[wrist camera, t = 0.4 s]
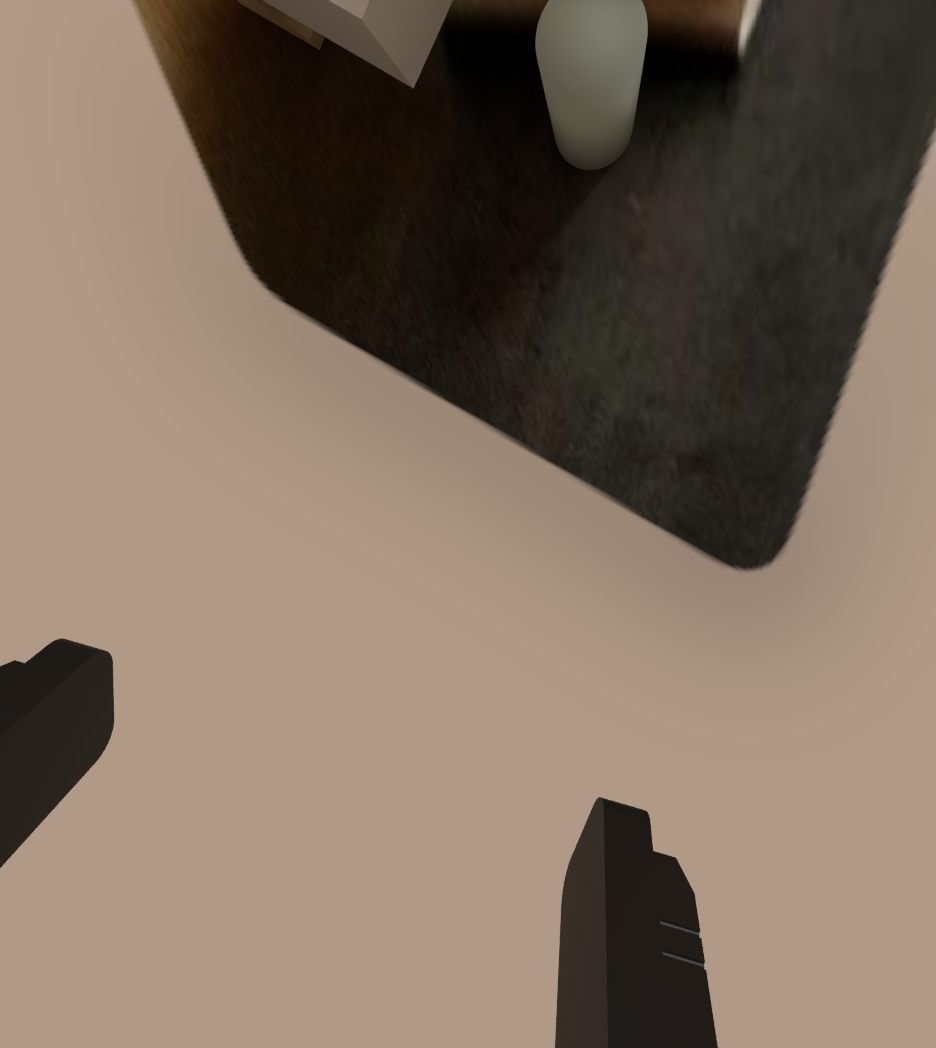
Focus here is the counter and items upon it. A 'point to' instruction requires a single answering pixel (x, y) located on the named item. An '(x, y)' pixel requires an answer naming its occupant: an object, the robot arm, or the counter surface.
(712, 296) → the counter surface
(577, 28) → the pale green rounded cylinder
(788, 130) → the counter surface
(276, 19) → the oak board
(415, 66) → the grey open box
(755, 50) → the counter surface
